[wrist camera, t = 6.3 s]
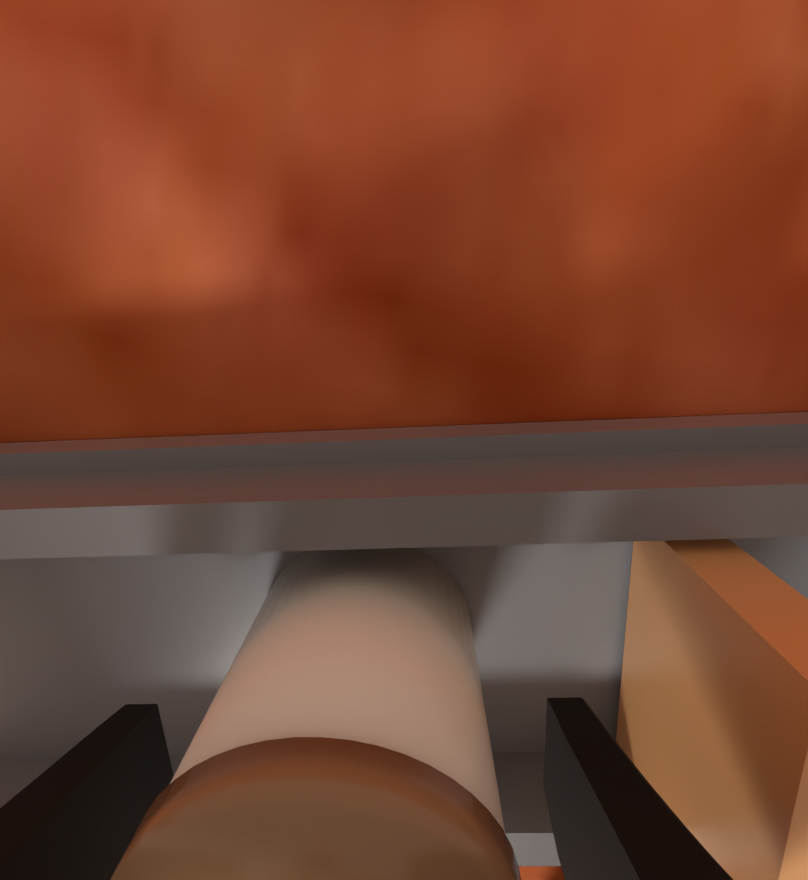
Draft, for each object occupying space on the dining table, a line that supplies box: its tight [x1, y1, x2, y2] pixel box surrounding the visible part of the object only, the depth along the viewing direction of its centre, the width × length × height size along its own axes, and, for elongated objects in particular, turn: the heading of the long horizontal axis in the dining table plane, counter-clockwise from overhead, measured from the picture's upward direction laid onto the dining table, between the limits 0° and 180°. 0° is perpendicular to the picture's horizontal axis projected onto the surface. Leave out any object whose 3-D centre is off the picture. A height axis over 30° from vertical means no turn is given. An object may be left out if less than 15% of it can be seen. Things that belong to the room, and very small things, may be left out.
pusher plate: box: [616, 539, 808, 880], centre depth 9 cm, size 1×6×5 cm, turn 3°
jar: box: [110, 548, 521, 880], centre depth 9 cm, size 5×5×6 cm
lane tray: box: [0, 412, 808, 866], centre depth 10 cm, size 24×10×6 cm, turn 93°
